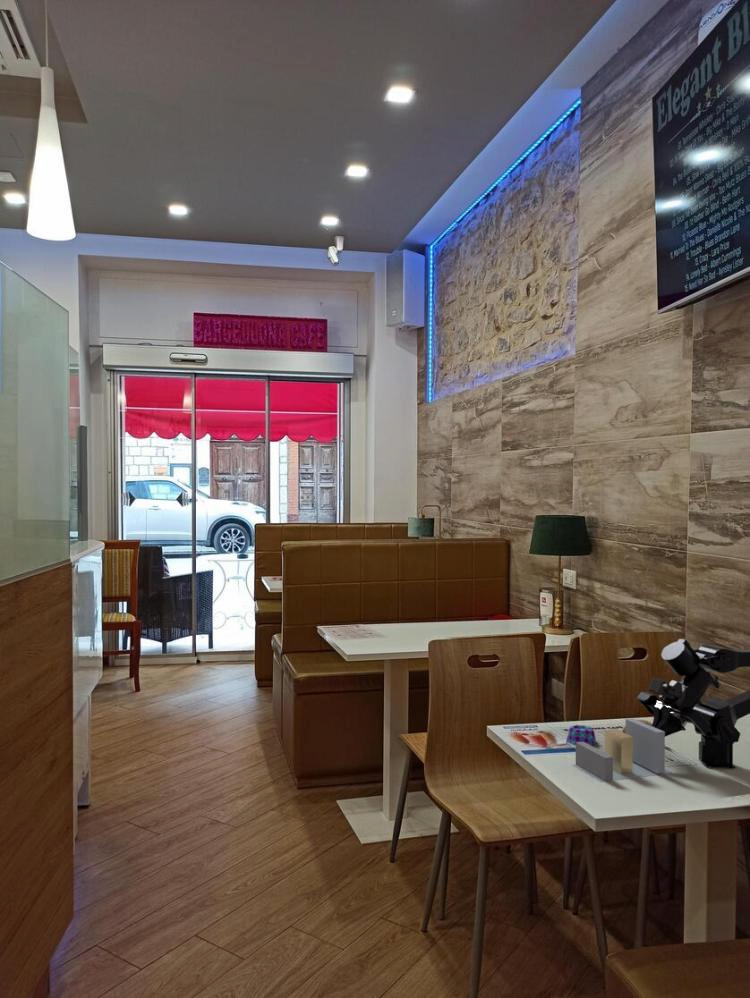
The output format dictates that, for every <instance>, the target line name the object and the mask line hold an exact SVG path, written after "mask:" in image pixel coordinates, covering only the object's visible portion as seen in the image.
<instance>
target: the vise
mask: <svg viewBox="0 0 750 998" xmlns="http://www.w3.org/2000/svg"><path fill="white" fill-rule="evenodd" d="M571 766H573V767H575V768H576V769H577V770H579V771H581V772H583V773H585V774H586V775H588V776H590V777H591V778H593V779H595V780H596V781H598V782H600V783H606V782H613V781H620V780H630V779H636V778H637V779H638V778H645V777H653V776H661V775H662V776H663V775H669V774H674V772H673V771H671V770H669V769H666V768H665V773H658V774H657V773H655V772H653V771H651V770H649V769H647V768H645V767H643V766H641V765H639V764H637V763H635V762H633V773H630V774H622V775H621V774H619V773H617V772H616V771H614V770H613V757H612V756H610V755H608V754H606V753H605V751H603V750H599V749H598V748H596V747H594V746H590V745H589V744H587V743H585V742H576V745H575V764H571Z"/></svg>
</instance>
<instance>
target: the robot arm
mask: <svg viewBox="0 0 750 998" xmlns="http://www.w3.org/2000/svg"><path fill="white" fill-rule="evenodd" d="M661 658H662V659H663V660H664V662H665V663H666V664H667V665H668V666H669V667H670V668H671V669H672V671H673V672H674V674H676V675H677V676H679V677H681V679H680V680H679V681H677V680H673V679H672V680H671V681H670V682H668V681H665V680H663V679H660V678H656V677H653V676H652V678H651V680H650V683H649V685H648V688H647V691H649V692H647V691H641V692H640V693H639V694H638V696H637V697H636V700H637V701H638V702H639V703H640V704H641V706H643V708H644V709H645V710H646V712H647V713H648V714H650V715H651V716H653V720H652V727H655V728H657V729H659V730H662V731H664V732H665V738H666V737H668V736H670V735H674V734H675V733H679V732H681V731H684V732H685V731H686V726H687V724H692V725H693V727H694V731H695V734H698V735H700V738H701V739H700V740H699V742H698V760H699V761H700V762H701V763H702V764H703V765H704V766H705V767H706V768H714V769H715V768H716V769H736V768H737V767H736V765H735V764H734V758H733V757H734V744H735V743H738V742H739V739H740V737H741V732H740V731H739V730H738V729H737V727H735V726H736V724H737V722H738V720H739V719H742V718H745V716H748V715H750V689H748V690H746V691H744V692H742V693H740V694H737V695H735V696H732V697H730V698H728V699H726V700H723V699H721V698H720V699H719V698H716V697H713V696H711V697H708V698H706V699H705V700H703V701H701V698H702V697H703V696H704V694H705V693H706V692H707V690H708V689H709V688H710V687H711V688H715V689H720V683H719V677H718V676H717V675H714V674H712V673H711V672H710V671H713V672H717V673H721V674H725V673H729V672H734V671H735V670H737V669H739V668H748V667H749V668H750V649H749V648H745V649H744V648H742V649H741V648H738V649H736V648H735V649H734V648H733V649H732V648H731V649H730V648H725V647H722V646H717V645H712V644H708V643H707V644H706V643H705V644H702V645H700V646H699V648H697V649H693V648H692V646H691V644H690V643H689V641H688V640H687V639H684V638H678V640H677V641H674V642H671V643H670V644H668V645H666V646H665V647H663V649H662V651H661ZM709 670H710V671H709ZM651 692H653V693H656V694H657V695H658V696H656V694H653V693H651Z"/></svg>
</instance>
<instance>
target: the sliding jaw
mask: <svg viewBox="0 0 750 998" xmlns="http://www.w3.org/2000/svg"><path fill="white" fill-rule="evenodd" d="M638 720H639V719H635V718H633V717H631V718H625V726H626V733H625V734H628V735H630V736H632V737H633V762H635V763H637V764H639V765H641V766H643V767H645V768H647V769H649V770H651V771H653V772H655V773H657V774H658V773H665V769H666V768H665V767H666V766H665V765H666V763H665V762H666V761H665V760H666V759H665V757H666V755H665V753H666V752H665V750H666V746H665V745H666V744H665V742H666V741H665V740H666V737H665V732H664V731H662V730H659V729H657V728H655V727H652V726H650V725H647V724H645V723H643V722H640V721H638Z"/></svg>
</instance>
